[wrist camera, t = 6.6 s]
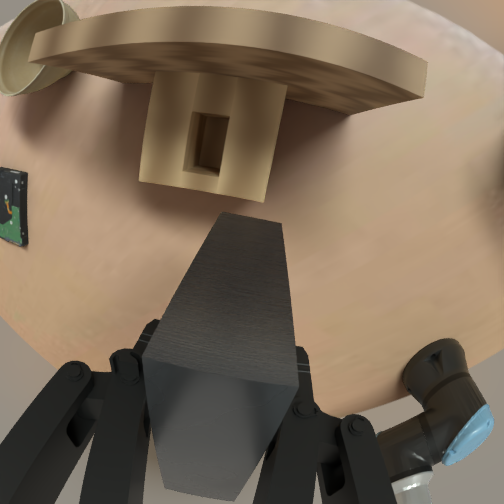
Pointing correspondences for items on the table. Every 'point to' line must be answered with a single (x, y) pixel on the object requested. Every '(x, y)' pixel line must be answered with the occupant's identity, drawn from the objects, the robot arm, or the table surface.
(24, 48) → the planter bowl
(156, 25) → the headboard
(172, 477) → the grey slab
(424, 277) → the table surface
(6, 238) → the disk drive
